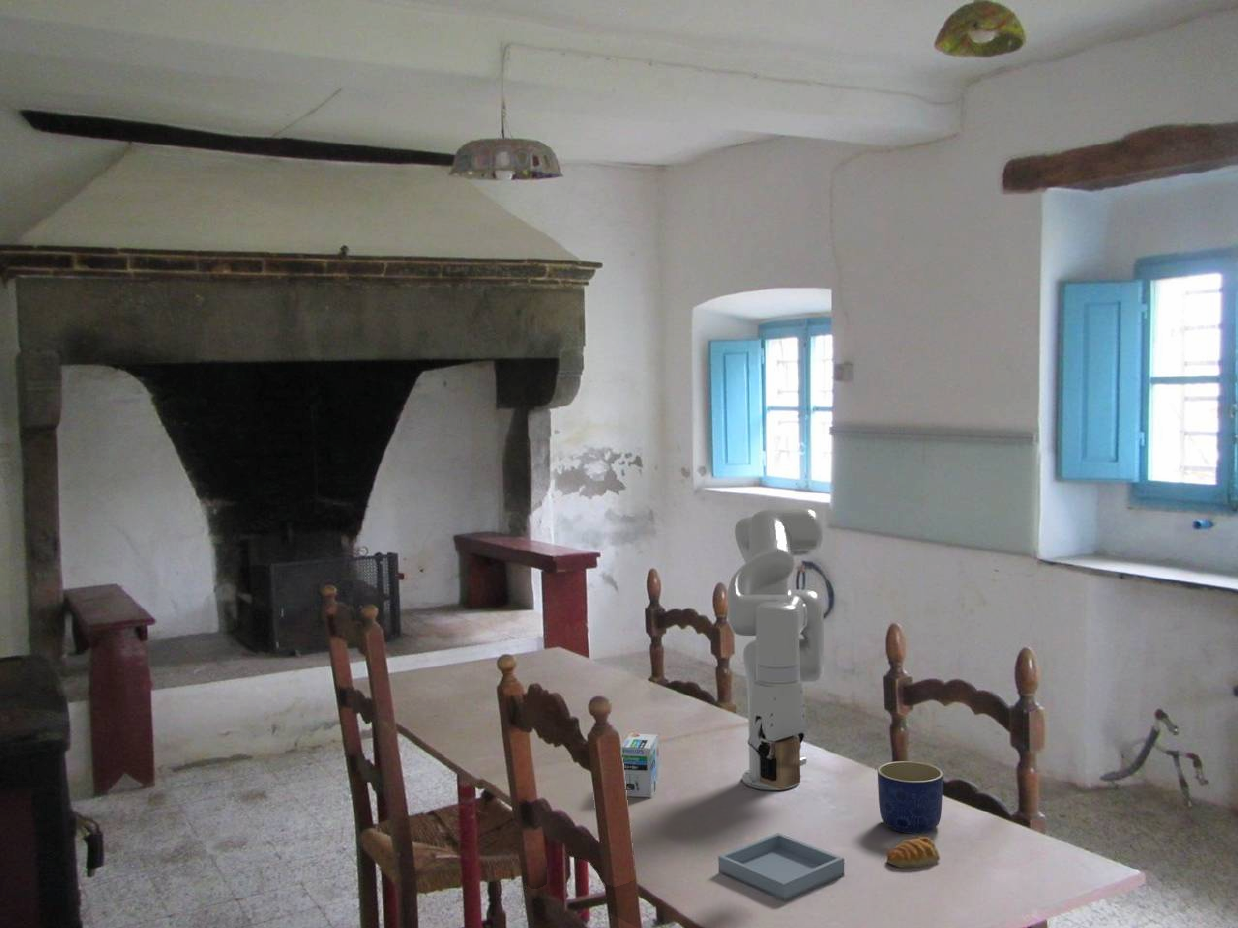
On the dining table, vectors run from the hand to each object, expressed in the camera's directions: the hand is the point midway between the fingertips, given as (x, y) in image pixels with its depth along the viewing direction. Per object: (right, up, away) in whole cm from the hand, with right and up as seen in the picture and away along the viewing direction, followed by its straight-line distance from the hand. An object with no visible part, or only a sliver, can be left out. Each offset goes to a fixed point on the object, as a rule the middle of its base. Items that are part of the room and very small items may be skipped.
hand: (779, 774), depth 196 cm
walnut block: (0, -1, 0) cm, 1 cm away
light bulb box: (-23, -16, +46) cm, 54 cm away
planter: (+29, -16, +22) cm, 40 cm away
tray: (0, -18, +1) cm, 18 cm away
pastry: (+25, -18, +5) cm, 31 cm away
